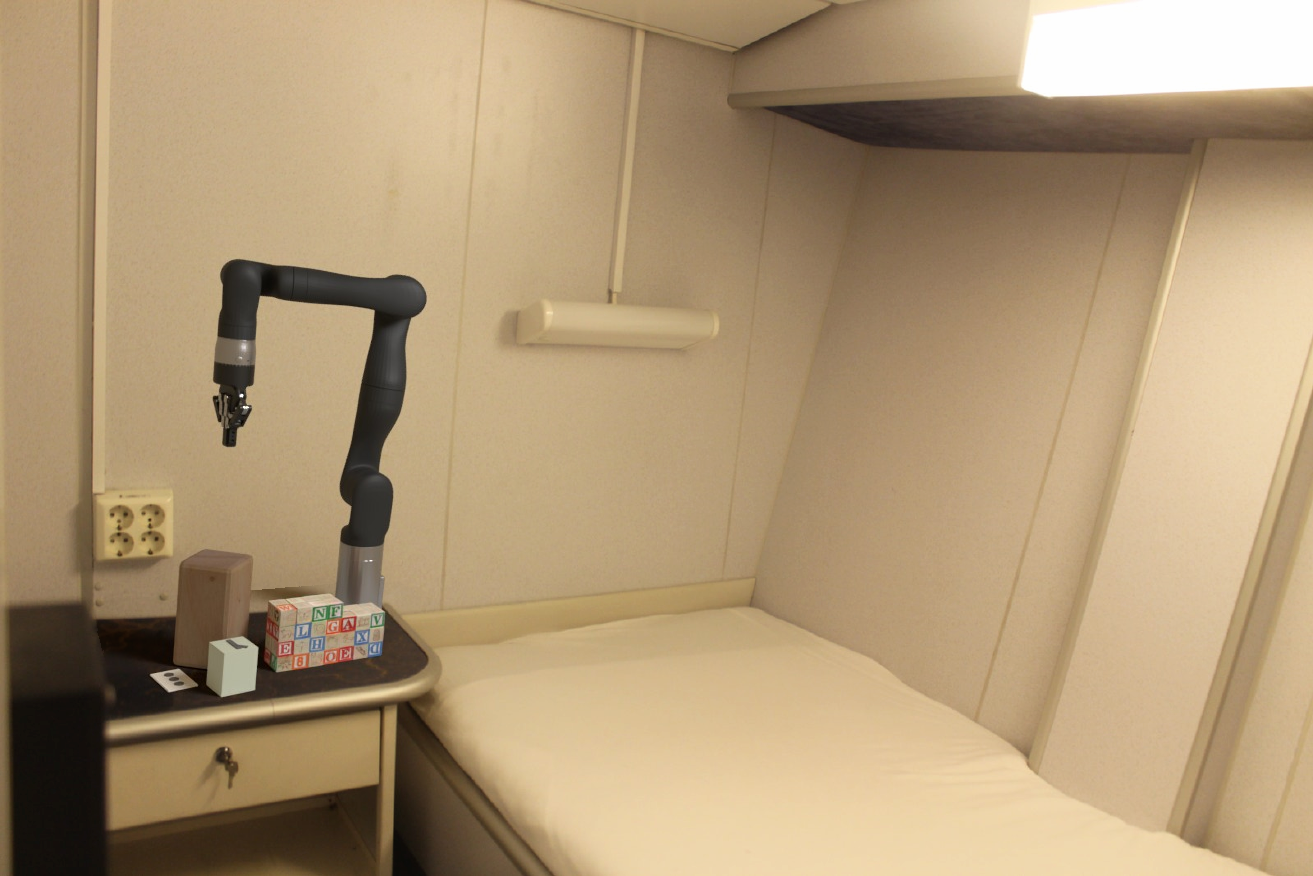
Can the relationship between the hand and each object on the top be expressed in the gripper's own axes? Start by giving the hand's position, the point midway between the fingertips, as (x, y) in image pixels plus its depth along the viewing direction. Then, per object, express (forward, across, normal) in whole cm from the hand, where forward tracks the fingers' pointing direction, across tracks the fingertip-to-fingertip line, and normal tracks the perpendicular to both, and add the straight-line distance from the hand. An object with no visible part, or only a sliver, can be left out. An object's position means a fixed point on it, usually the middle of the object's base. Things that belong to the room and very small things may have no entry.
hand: (228, 446), depth 197 cm
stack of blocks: (+37, -27, -9) cm, 47 cm away
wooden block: (+37, -18, +9) cm, 42 cm away
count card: (+37, -24, +18) cm, 48 cm away
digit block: (+37, -31, +11) cm, 50 cm away
